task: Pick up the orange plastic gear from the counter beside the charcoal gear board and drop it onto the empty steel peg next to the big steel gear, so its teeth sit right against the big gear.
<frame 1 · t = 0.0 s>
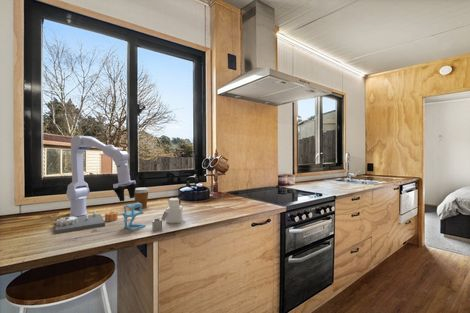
hand: (127, 199, 123), 11 cm above the countertop, tool pointing down, fingers open, 7 cm apart
lighter: (160, 229, 110), on the countertop
orange gear: (111, 219, 123), on the countertop
disposable coffee cup: (141, 207, 149), on the countertop
medicine bottle: (174, 221, 122), on the countertop
gear board: (80, 224, 115), on the countertop
chair: (133, 227, 111), on the countertop
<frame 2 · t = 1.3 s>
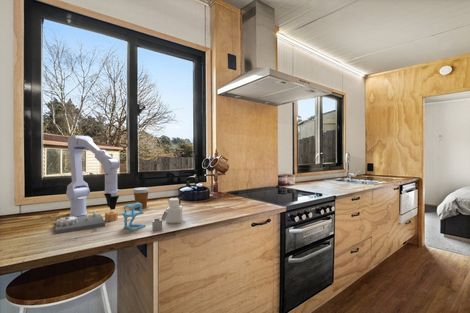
hand: (111, 207, 123), 6 cm above the countertop, tool pointing down, fingers open, 7 cm apart
nothing on the countertop moved.
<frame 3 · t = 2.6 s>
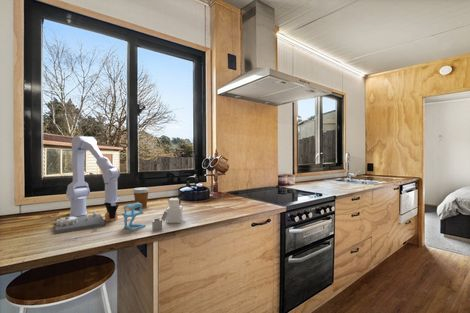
hand: (111, 216, 123), 1 cm above the countertop, tool pointing down, fingers closed on orange gear, 6 cm apart
orange gear: (111, 219, 123), on the countertop, touching gripper
everything else where it was.
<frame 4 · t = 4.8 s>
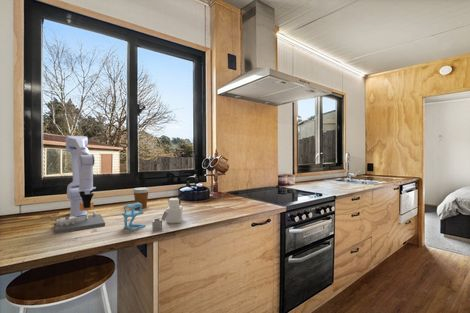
hand: (86, 206, 116), 8 cm above the countertop, tool pointing down, fingers closed on orange gear, 6 cm apart
orange gear: (86, 209, 116), point 7 cm above the countertop, touching gripper
everything else where it was.
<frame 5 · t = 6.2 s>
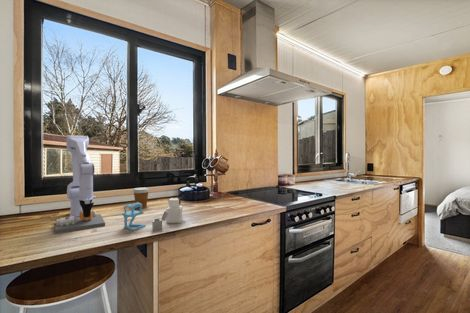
hand: (86, 215, 116), 4 cm above the countertop, tool pointing down, fingers closed on orange gear, 6 cm apart
orange gear: (86, 218, 116), point 2 cm above the countertop, touching gripper
everything else where it was.
when the fingers open (4 cm above the countertop, at t = 7.1 s): orange gear stays where it is, resting on gear board.
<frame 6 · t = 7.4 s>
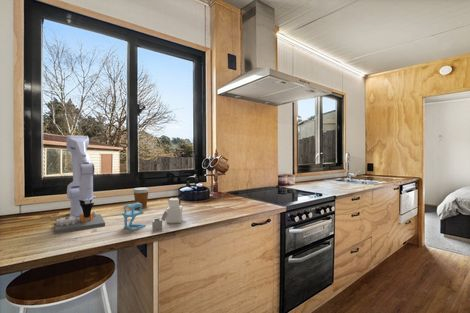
hand: (86, 215, 116), 4 cm above the countertop, tool pointing down, fingers open, 7 cm apart
orange gear: (86, 220, 116), point 1 cm above the countertop, touching gear board
everything else where it was.
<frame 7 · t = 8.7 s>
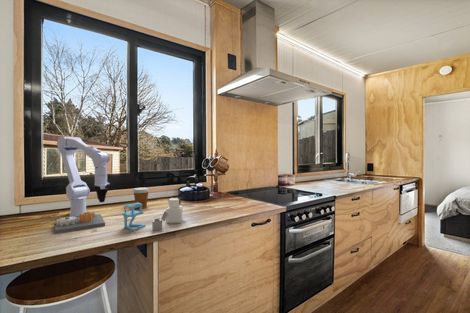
hand: (101, 200, 125), 9 cm above the countertop, tool pointing down, fingers open, 7 cm apart
nothing on the countertop moved.
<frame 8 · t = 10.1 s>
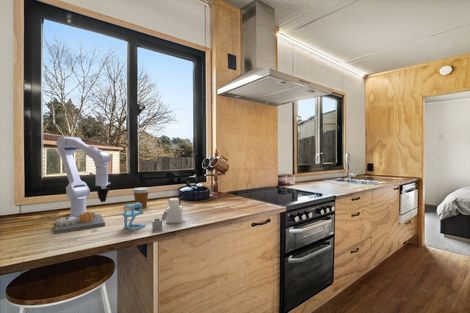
hand: (102, 200, 125), 9 cm above the countertop, tool pointing down, fingers open, 7 cm apart
nothing on the countertop moved.
at the end: orange gear 0.1 cm from the target spot on the gear board, point 1.5 cm above the gear board's base; orange gear tilted 0°; the gripper is holding nothing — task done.
